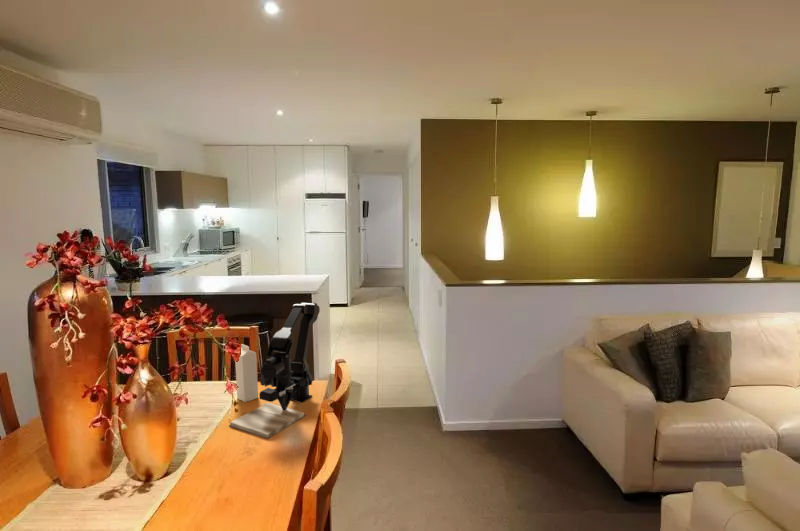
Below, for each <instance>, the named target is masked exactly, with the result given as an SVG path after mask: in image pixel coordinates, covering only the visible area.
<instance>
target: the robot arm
mask: <svg viewBox="0 0 800 531" xmlns="http://www.w3.org/2000/svg"><path fill="white" fill-rule="evenodd" d="M320 311H321V308H320V306H319V305H318V304H317V302H301V303H295V304H293V305H292V308H291V311H290V314H289V315H288V317H287V318H286V321H285V323H284V325H283V327H282V328H281V329H280V330H278V331H276V332H275V333H274V335H273V336H272V337H271V339H270V341H269V345H268V348H267V352H266V358H267V359H266V360H265V363H264V364H263V365H262V367H261V369H260V372H261V375H262V376H260V378H259V382H260V386H264V387H267V386H271V387H272V388H270V387H267V388H265V389H263V390H261V391H260V392H258V397H259V400H261V401H265V402H268V403H271V402H274V401H278V403H279V406H281V407H282V409H283V410H286V409H287V408H289V404H290V402H291V401H294V402H297V403H304V402H306V401H307V400H309V399H311V398H312V397H313V396H312V395H311V394H310V391H309V390H310V386H312V384H313V380H314V379H313V378H314V377H313V375H312V373H311V372H310V366H309V363H308V362H307V359H308V352H309V346H310V341H311V335H312V328H313V325H314V323H315V322H316V321H317V320H318V316H319V314H320ZM298 327H299V330H298V334H297V342H296V345H295V346H296V348H295V353H294V358H293V359H292V360H291V355H292V354H293V351H292V350H293V348H294V344H295V338H294V336H295V333H296V331H297V329H298ZM273 388H274V389H273Z"/></svg>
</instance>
